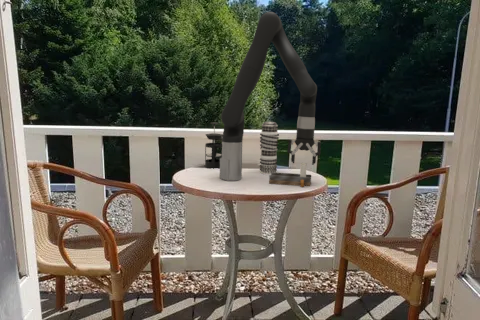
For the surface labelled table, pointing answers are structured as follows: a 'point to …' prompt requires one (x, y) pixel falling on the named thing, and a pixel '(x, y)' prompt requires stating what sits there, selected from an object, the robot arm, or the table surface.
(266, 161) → the decorative candle
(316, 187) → the table surface
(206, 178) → the table surface
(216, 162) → the french press
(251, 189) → the table surface
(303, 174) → the slider tab
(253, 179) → the table surface
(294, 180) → the slider track
